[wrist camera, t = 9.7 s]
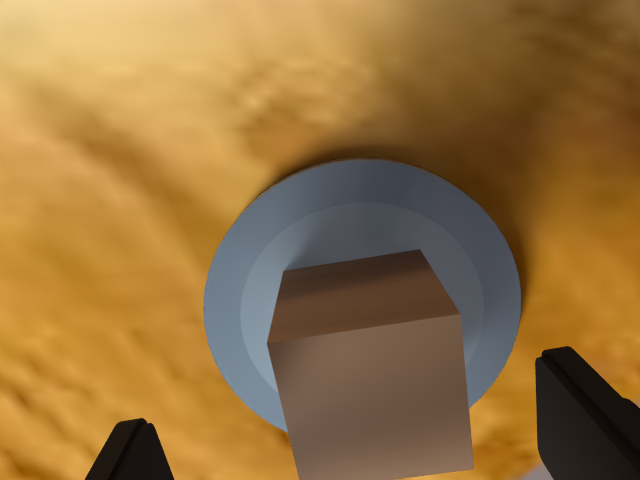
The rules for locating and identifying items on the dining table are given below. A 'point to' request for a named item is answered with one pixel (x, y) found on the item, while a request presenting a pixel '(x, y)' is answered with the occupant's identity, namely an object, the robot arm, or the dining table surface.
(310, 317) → the block
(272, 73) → the dining table surface
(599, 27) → the dining table surface
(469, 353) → the dish
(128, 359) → the dining table surface
